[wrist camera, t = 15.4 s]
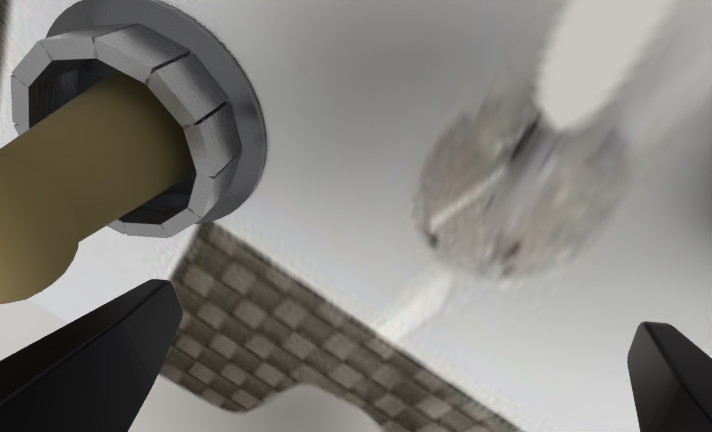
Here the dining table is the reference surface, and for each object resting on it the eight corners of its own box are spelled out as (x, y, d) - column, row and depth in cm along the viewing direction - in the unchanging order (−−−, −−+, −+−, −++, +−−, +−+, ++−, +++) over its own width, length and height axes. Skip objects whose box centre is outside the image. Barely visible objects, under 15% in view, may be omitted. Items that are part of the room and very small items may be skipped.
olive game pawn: (90, 144, 24) (-138, 276, 15) (104, 42, 20) (-182, 134, 11) (191, 198, 24) (30, 357, 15) (221, 108, 21) (36, 245, 12)
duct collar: (235, -17, 18) (192, -6, 15) (284, 224, 25) (260, 263, 22) (5, 1, 21) (-69, 13, 18) (103, 214, 27) (60, 248, 24)
